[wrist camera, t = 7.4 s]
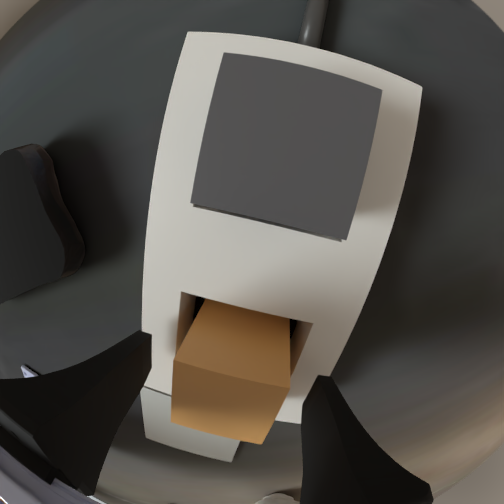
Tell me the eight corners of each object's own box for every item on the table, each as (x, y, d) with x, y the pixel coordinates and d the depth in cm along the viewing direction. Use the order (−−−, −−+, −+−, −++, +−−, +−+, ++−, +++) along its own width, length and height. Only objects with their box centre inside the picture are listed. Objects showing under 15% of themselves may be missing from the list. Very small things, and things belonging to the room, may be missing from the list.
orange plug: (269, 360, 15) (261, 444, 10) (203, 343, 15) (170, 421, 10) (289, 303, 14) (290, 388, 8) (213, 285, 14) (173, 359, 8)
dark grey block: (317, 204, 12) (346, 240, 7) (231, 183, 12) (190, 203, 7) (337, 121, 11) (382, 90, 5) (250, 100, 11) (223, 52, 5)
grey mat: (232, 458, 20) (231, 462, 19) (147, 433, 20) (145, 437, 19) (250, 412, 17) (249, 417, 17) (142, 381, 17) (139, 385, 17)
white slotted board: (300, 387, 16) (301, 423, 13) (161, 354, 16) (143, 385, 13) (403, 11, 8) (424, -13, 5) (236, -28, 8) (226, -59, 6)
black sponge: (63, 129, 12) (20, 129, 9) (105, 257, 15) (67, 282, 11) (-26, 221, 16) (-52, 232, 12) (3, 301, 18) (-20, 318, 14)
